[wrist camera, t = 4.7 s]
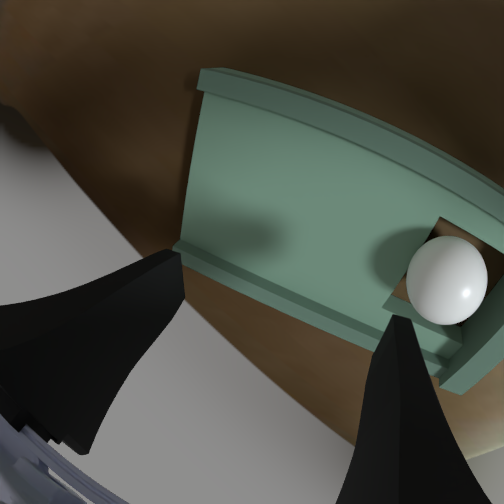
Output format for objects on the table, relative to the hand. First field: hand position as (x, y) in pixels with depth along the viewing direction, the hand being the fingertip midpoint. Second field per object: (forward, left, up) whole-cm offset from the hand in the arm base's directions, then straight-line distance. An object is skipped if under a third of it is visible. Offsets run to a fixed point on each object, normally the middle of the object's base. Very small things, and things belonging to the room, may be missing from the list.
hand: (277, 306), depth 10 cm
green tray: (-3, 0, -8) cm, 8 cm away
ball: (-7, -1, -5) cm, 8 cm away
